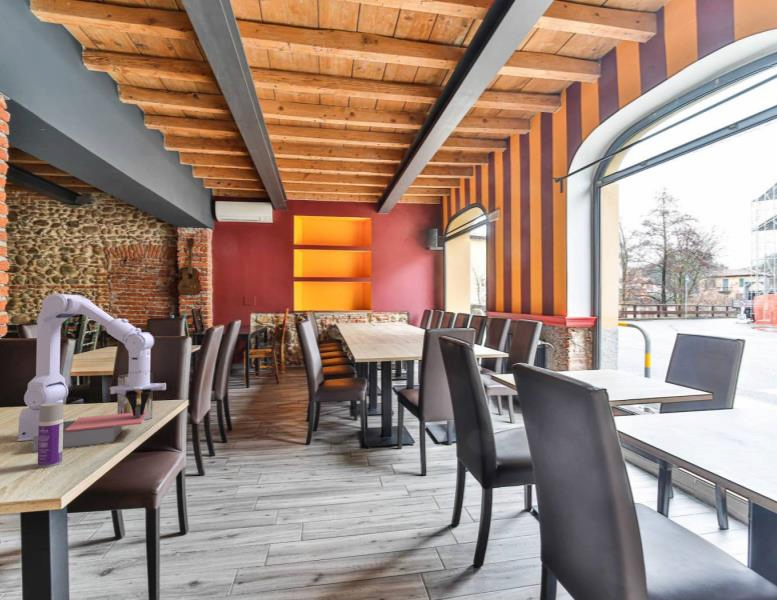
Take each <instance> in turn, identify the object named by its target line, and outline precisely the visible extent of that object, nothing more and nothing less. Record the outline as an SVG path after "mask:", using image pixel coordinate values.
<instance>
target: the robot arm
mask: <svg viewBox="0 0 777 600" xmlns="http://www.w3.org/2000/svg"><path fill="white" fill-rule="evenodd" d="M41 304H42V306H41V307H42V308H41V310H40V312H39V314H38V316H37V320H36V326H37V327H36V357H35V358H36V360H35V361H36V362H35V363H36V365H35V367H36V368H35V376H34V377H33V378H32V379H31V380H30V381H29V382H28V383H27V390H26V391H25V393H24V396H23V400H24V403H25V405H26V406H27V407H26V408H23V409H21V411H20V414H19V418H18V434H17V435H18V437H17V439H16V440H17V442H23V441H33V436H34V435H35V434H36V433H38V432H39V414H40V405H41V404H45V403H50V402H63V403H64V400H65V399H67V397H68V395H69V389H68V386H67V384H66V377H65V376H63V375H61V373H60V372H61V371H60V370H61V369H60V368H61V367H60V366H61V328H62V327H61V325H62V324H63V323H64V322H65V321H67V320H68V319H70V318H72V317H75V316H77V315H82V316H83V315H84V316H86V317H87V318H89V319H91V320H92V321H95V322H96V323H97V324H99V325H101V326H103V327H105V328H106V329H105V331H106V333H107V334H108V335H110V336H111V337H113V338H114V339H116V340H117V341H119V342H120V343H122V344H123V345H124V347H125V349H126V350H127V352H128V374H129V376H128V385H123V386H118V385H114V386H111V387H110V392H109V393H110V395H114V394H118V393H125V392H126V398H127V399H128V401H129V403H130V405H131V408H132V411H133V416H135V407H136V406H137V392H138V391H142V392H141V410H140V415H143V414H144V409H145V405H146V402H147V400H148V398H149V395H150V393H151V392H152V390H153V391H166V390H167V383H166V382H164V383H163V382H157V383H155V382H153V383H150V373H151V352H152V351H151V349H152V348H153V346H154V344H155V338H154V336H153V335H152V334H151V332H147V331H142V328H140V327H135V326H134V325H132V324H131V323H129V322H130V321H129V320H128V319H127V318H120V317H119V318H114V317H112V316H111V315H110V314H108V313H107V312H106V311H104V310H103V309H102V308H100V307H99V306H98V305H96V304H95V303H93V302H92V300H91V299H88V298H86V297H85V296H83V295H82V294H81V295H80V294H66V293H57V292H56V293H51V294H50V295H48V296H47V297H45V298H44V299H43V300H42V303H41ZM139 389H140V390H139Z"/></svg>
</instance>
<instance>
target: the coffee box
mask: <svg viewBox="0 0 777 600" xmlns="http://www.w3.org/2000/svg"><path fill="white" fill-rule="evenodd" d="M153 375H154V373H151V372H150V383H154V382H153V381H154V380H153ZM128 376H129V373H127V374H119V375H117V386H123V385H128ZM139 390H140V389H139ZM153 391H154V390H152V392H151V393H150V395H149V398H148V400H147V402H146V405H145V409H144V412H145V411H147V414H146V415H145V417H144V419H143V421H145V420H151V419H153V412H154V411H153V410H154V409H153ZM141 392H142V391H138V392H137V404H141ZM124 413H133V411H132V408H131V405H130V403H129V401H128V399H127V398H126V392H125V393H117V413H116V414H124Z"/></svg>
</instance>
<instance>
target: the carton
mask: <svg viewBox="0 0 777 600" xmlns="http://www.w3.org/2000/svg"><path fill="white" fill-rule="evenodd" d="M76 420H77V419H76ZM76 420H73V419H72V420H63V450H65V448H68V449H73V448H72V447H76V448H80V447H79V446H84V447H90V445H93V446H98V445H97V444H101V445H106V444H105V443H110V444H114V442H115V441H114V440H116V439H117V437H118V436H119V435H120V433H121V432H122V430H123V426H116V427H107V428H97V429H87V430H78V431H68V432H65V430H66V429H67V428H68V427H69V426H70V425H71V424H72V423H74V422H75V421H76ZM32 453H38V433H36V434H35V435H34V436H33V440H32Z"/></svg>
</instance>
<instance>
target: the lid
mask: <svg viewBox="0 0 777 600" xmlns="http://www.w3.org/2000/svg"><path fill="white" fill-rule="evenodd" d="M140 410H141V404H137V406H136V407H135V416H133V413H124V414H117V413H115V414H104V415H93V416H82V417H78V418H77V419H76V421H75V422H74V423H72V424H71V425H70V426H69V427H68V428H67V429H66V430H65V432H68V431H78V430H87V429H97V428H107V427H116V426H122V427H125V426H133V425H142V423H143V421H144V420H143V419H144V417H145V415H146V414H147V411H145V412H144V414H143V415H140Z"/></svg>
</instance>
